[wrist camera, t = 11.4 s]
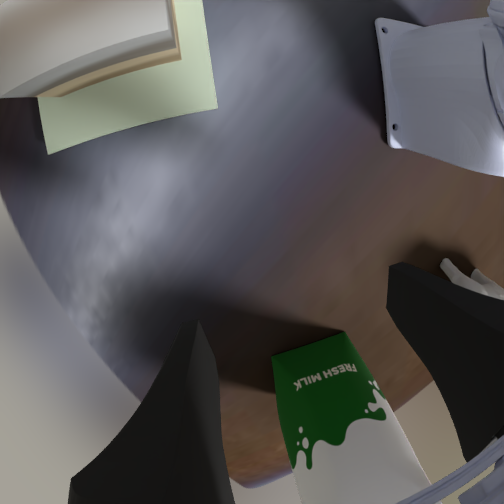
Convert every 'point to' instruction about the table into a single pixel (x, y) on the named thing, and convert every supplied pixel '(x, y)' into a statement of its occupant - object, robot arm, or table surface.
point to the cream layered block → (81, 43)
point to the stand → (137, 91)
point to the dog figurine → (472, 280)
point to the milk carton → (341, 428)
